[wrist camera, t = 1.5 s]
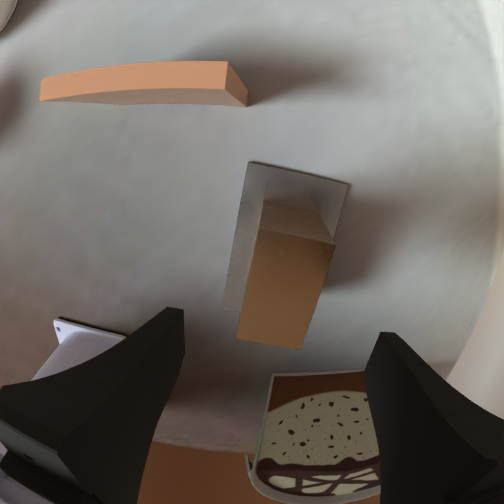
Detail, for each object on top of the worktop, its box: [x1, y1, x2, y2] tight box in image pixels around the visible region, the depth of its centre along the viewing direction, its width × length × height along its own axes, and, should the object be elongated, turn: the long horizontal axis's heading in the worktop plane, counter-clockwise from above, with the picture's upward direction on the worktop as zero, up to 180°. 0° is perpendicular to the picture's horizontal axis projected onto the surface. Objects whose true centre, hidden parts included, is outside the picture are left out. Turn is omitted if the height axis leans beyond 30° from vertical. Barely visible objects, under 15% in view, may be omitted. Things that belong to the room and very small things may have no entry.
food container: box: [245, 368, 381, 504], centre depth 20 cm, size 12×6×10 cm, turn 94°
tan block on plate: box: [222, 162, 348, 350], centre depth 17 cm, size 10×6×6 cm, turn 169°
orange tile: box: [39, 61, 248, 107], centre depth 13 cm, size 1×8×8 cm, turn 84°
